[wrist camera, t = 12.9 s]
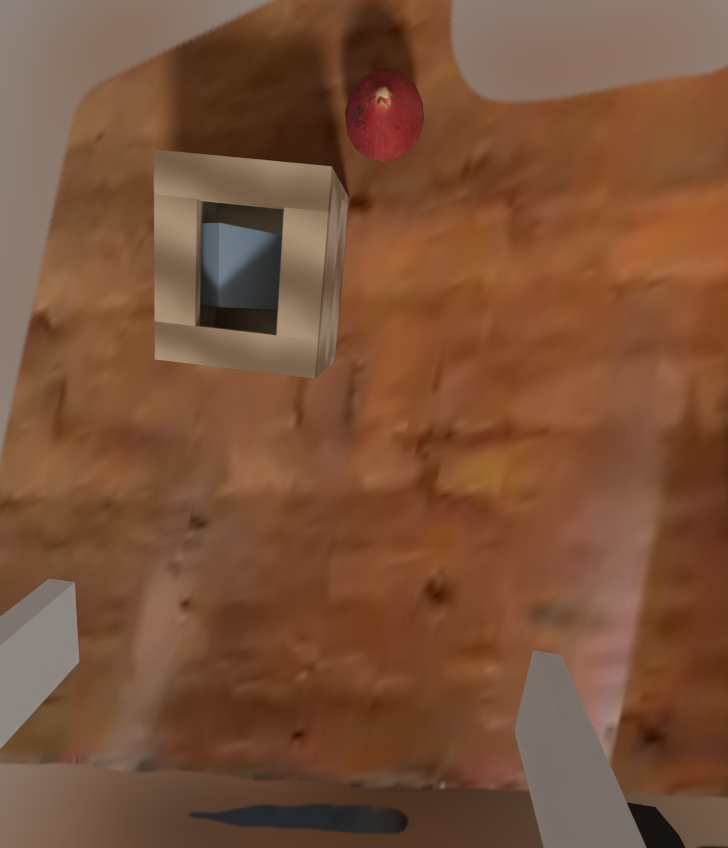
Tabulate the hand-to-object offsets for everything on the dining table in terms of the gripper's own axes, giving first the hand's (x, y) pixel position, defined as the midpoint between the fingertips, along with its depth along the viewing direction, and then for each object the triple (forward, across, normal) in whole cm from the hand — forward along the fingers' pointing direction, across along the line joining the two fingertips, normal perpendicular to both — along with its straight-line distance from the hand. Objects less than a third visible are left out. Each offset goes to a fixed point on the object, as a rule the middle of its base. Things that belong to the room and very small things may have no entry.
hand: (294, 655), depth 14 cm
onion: (+33, -1, +23) cm, 40 cm away
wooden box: (+33, -10, +11) cm, 36 cm away
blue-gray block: (+31, -10, +11) cm, 35 cm away
